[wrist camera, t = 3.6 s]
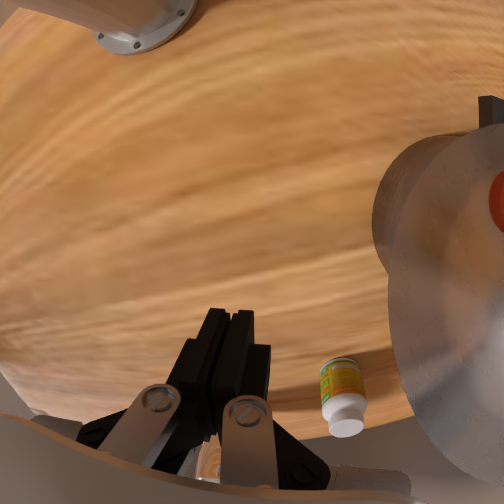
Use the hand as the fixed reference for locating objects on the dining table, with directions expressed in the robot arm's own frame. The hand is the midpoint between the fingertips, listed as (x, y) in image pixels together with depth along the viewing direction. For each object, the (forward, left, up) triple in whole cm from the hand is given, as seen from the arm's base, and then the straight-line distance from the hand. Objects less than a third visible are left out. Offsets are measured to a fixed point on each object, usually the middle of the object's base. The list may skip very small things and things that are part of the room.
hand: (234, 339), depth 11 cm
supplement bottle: (+21, +9, -19) cm, 30 cm away
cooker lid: (0, +13, 0) cm, 13 cm away
